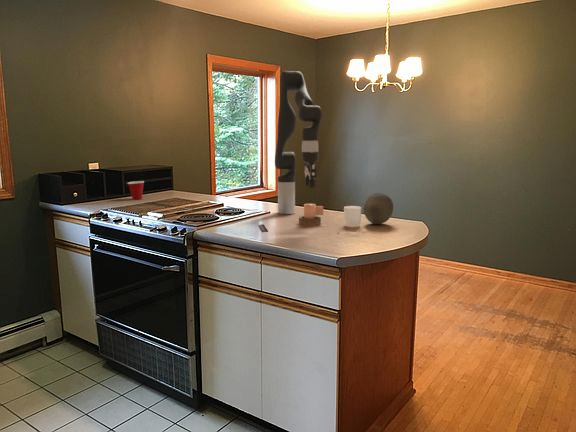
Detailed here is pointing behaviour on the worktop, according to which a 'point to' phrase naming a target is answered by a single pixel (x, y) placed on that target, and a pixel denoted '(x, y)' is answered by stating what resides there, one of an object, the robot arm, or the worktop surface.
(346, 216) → the white cup
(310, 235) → the worktop surface
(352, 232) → the worktop surface
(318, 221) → the walnut holder
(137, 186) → the plastic cup
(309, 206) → the peach ice lolly
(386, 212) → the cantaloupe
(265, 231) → the charcoal mat
